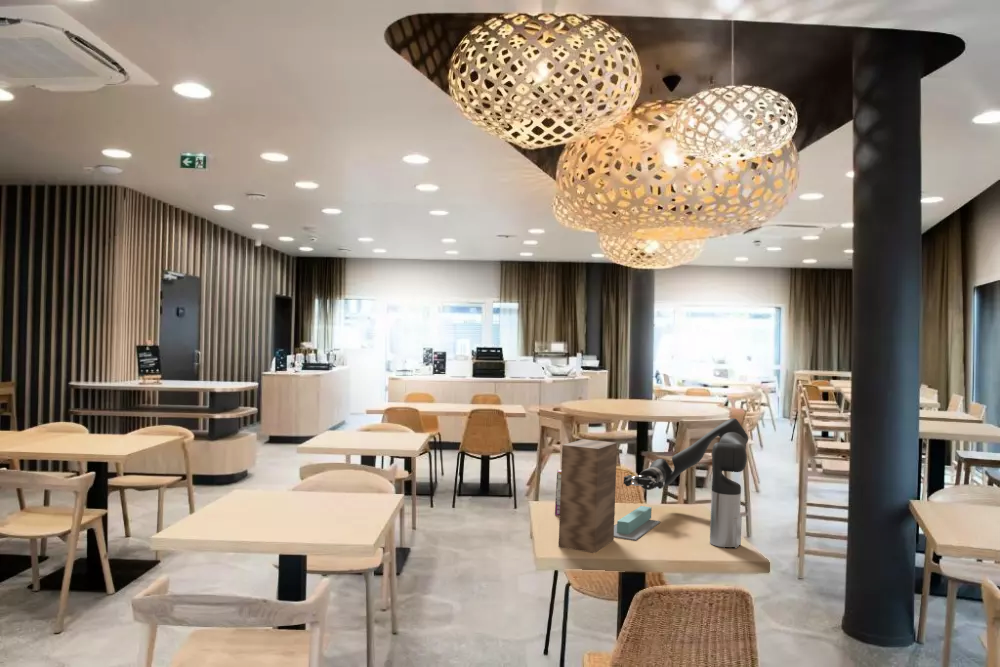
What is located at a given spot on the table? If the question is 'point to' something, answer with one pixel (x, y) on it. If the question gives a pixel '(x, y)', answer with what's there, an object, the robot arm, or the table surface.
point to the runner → (637, 531)
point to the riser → (587, 495)
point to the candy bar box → (558, 493)
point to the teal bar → (634, 520)
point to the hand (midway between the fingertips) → (638, 484)
